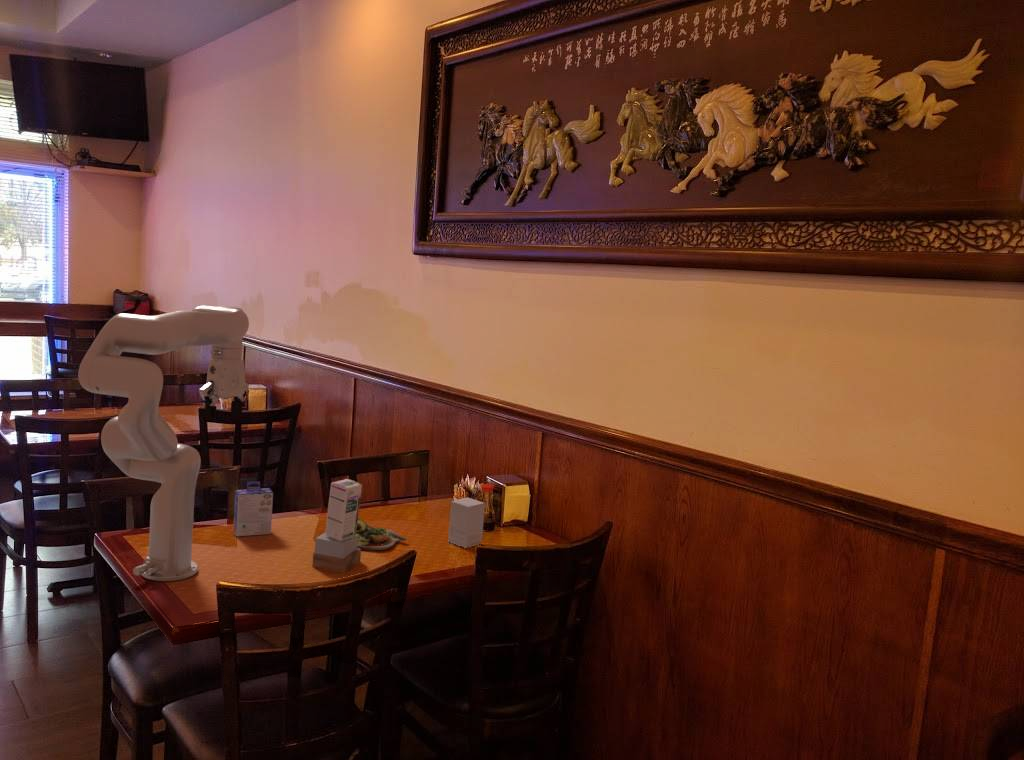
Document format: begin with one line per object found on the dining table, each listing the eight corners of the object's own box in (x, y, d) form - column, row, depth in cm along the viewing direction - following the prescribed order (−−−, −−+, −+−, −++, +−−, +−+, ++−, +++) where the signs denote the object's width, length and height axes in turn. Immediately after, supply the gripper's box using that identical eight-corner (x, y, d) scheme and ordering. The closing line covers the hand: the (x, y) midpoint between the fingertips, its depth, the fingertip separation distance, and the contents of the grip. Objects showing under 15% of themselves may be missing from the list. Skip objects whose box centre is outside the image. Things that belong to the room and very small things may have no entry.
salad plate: (412, 536, 234) (413, 521, 234) (397, 556, 217) (398, 540, 216) (349, 528, 236) (350, 513, 236) (329, 547, 218) (330, 531, 218)
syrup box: (340, 542, 200) (348, 488, 198) (323, 534, 203) (330, 481, 201) (355, 537, 205) (363, 484, 203) (339, 529, 208) (346, 477, 206)
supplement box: (482, 544, 232) (486, 502, 231) (465, 549, 226) (469, 506, 225) (464, 537, 237) (467, 496, 235) (446, 542, 231) (450, 500, 229)
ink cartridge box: (267, 528, 228) (270, 479, 226) (272, 534, 223) (275, 484, 221) (231, 530, 223) (234, 481, 221) (235, 537, 218) (238, 486, 216)
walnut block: (343, 574, 200) (345, 559, 200) (312, 567, 203) (313, 553, 202) (360, 563, 209) (361, 548, 209) (329, 557, 211) (330, 542, 211)
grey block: (343, 558, 200) (344, 543, 200) (314, 553, 202) (315, 538, 202) (356, 549, 208) (358, 534, 208) (329, 543, 210) (330, 529, 209)
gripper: (214, 357, 197) (210, 424, 199) (260, 354, 213) (256, 416, 215) (190, 353, 200) (187, 420, 202) (238, 350, 216) (234, 412, 218)
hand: (223, 418), depth 209 cm, fingers open, 9 cm apart
